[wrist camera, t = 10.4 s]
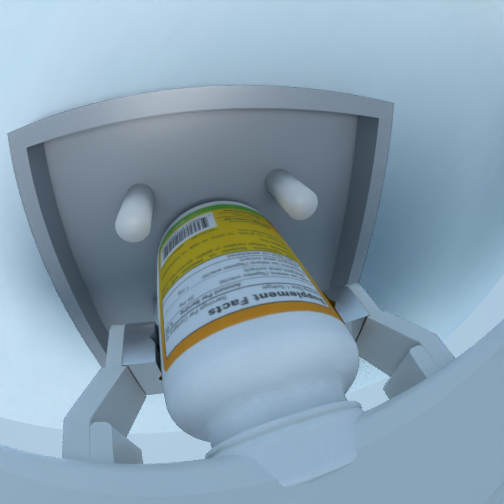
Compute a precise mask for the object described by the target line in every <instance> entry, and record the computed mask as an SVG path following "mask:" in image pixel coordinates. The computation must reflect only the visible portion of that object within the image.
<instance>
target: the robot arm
mask: <svg viewBox="0 0 504 504" xmlns="http://www.w3.org/2000/svg"><path fill="white" fill-rule="evenodd" d="M321 292H322V293H323V294H324V296H325V297H326V299H327V300H328V301H329V303H330V304H331V306H332V307H333V308H334V310H335V311H336V313H337V314H338V316H339V317H340V318H341V320H342V321H343V323H344V324H345V326H346V327H347V329H348V331H349V332H350V334H351V335H352V337H353V338H354V340H355V342H356V344H357V347H358V351H359V356H360V357H361V358H363V359H364V360H366V361H367V362H369V363H370V364H372V365H373V366H375V367H376V368H378V369H379V370H381V371H383V372H384V373H386V374H387V375H389V376H390V379H389V380H388V381H387V383H386V384H385V385H384V388H383V390H384V391H385V393H386V395H387V396H388V398H389V400H388V401H386V402H384V403H382V404H380V405H378V406H376V407H374V408H372V409H370V410H368V411H366V412H363V413H361V414H360V415H359V416H358V417H357V419H356V422H355V438H356V452H357V457H356V459H355V460H354V461H353V462H352V463H350V464H349V465H347V466H345V467H343V468H341V469H338V470H336V471H334V472H332V473H329V474H327V475H324V476H322V477H319V478H317V479H314V480H312V481H309V482H306V483H303V484H299V485H296V486H292V487H283V486H282V485H281V484H279V481H278V479H276V478H275V477H274V476H272V475H271V474H270V473H269V472H267V471H266V470H265V469H264V468H263V467H262V466H261V465H260V464H259V463H258V462H257V461H256V460H254V459H252V458H250V457H248V456H244V455H227V456H221V457H215V458H209V459H201V460H193V461H184V462H172V463H156V464H143V460H142V452H141V449H140V448H138V447H137V446H136V445H134V444H133V443H132V442H131V441H129V440H128V439H127V438H126V437H127V435H128V433H129V431H130V429H131V427H132V425H133V423H134V421H135V419H136V417H137V415H138V413H139V411H140V409H141V407H142V405H143V403H144V401H145V399H146V395H151V394H160V393H164V389H163V382H162V372H161V360H160V347H159V331H158V324H157V322H156V321H150V322H140V323H129V324H121V325H112V326H111V328H110V331H109V339H108V348H107V358H106V367H102V368H101V369H100V370H99V372H98V373H97V374H96V376H95V377H94V378H93V380H92V381H91V382H90V384H89V385H88V386H87V388H86V389H85V390H84V392H83V393H82V394H81V396H80V397H79V398H78V400H77V401H76V403H75V404H74V405H73V407H72V408H71V410H70V411H69V412H68V414H67V415H66V417H65V418H64V425H63V452H62V457H63V458H56V457H51V456H45V455H40V454H35V453H31V452H27V451H23V450H19V449H16V448H12V447H9V446H5V445H2V444H0V504H504V319H503V320H502V321H501V322H500V323H499V324H498V325H497V326H495V327H494V328H493V329H492V330H491V331H490V332H489V333H487V334H486V335H485V336H484V337H483V338H482V339H480V340H479V341H478V342H477V343H476V344H474V345H473V346H472V347H470V348H469V349H468V350H467V351H465V352H464V353H463V354H461V355H460V356H459V357H457V358H456V359H455V357H454V356H453V355H452V354H451V352H450V351H449V350H448V348H447V347H446V346H445V344H444V343H443V342H442V341H441V339H440V338H439V337H438V336H437V334H435V333H432V332H430V331H428V330H426V329H424V328H422V327H420V326H417V325H415V324H413V323H411V322H409V321H407V320H405V319H402V318H400V317H398V316H396V315H394V314H392V313H390V312H387V311H381V309H380V308H379V307H378V306H377V304H376V303H375V302H374V301H373V300H372V298H371V297H370V296H369V295H368V293H367V292H366V291H365V290H364V289H363V287H362V286H361V285H360V284H358V283H353V284H349V285H345V286H340V287H336V288H332V289H328V290H324V291H321Z"/></svg>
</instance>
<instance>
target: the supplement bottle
mask: <svg viewBox="0 0 504 504" xmlns="http://www.w3.org/2000/svg"><path fill="white" fill-rule="evenodd" d="M157 309H158V331H159V347H160V360H161V372H162V382H163V389H164V396H165V402H166V406H167V410H168V412H169V414H170V416H171V418H172V419H173V421H174V422H175V423H176V425H177V426H178V427H179V428H181V429H182V430H183V431H184V432H186V433H187V434H189V435H191V436H193V437H195V438H197V439H200V440H203V441H207V442H210V443H211V446H212V449H211V450H210V451H209V452H208V453H207V454H206V456H205V459H209V458H215V457H221V456H227V455H244V456H248V457H250V458H252V459H254V460H256V461H257V462H258V463H259V464H260V465H261V466H262V467H263V468H264V469H265V470H266V471H267V472H269V473H270V474H271V475H272V476H274V477H275V478H276V479H278V481H279V484H281V485H282V486H283V487H292V486H296V485H299V484H303V483H306V482H309V481H312V480H314V479H317V478H319V477H322V476H324V475H327V474H329V473H332V472H334V471H336V470H338V469H341V468H343V467H345V466H347V465H349V464H350V463H352V462H353V461H354V460H355V459H356V457H357V452H356V438H355V422H356V419H357V417H358V416H359V415H360V414H361V413H363V412H364V411H363V410H362V407H361V405H360V403H358V402H356V401H347V399H346V397H345V394H346V392H347V391H348V390H349V388H350V387H351V385H352V384H353V382H354V380H355V377H356V375H357V372H358V368H359V351H358V347H357V344H356V342H355V340H354V338H353V337H352V335H351V334H350V332H349V331H348V329H347V327H346V326H345V324H344V323H343V321H342V320H341V318H340V317H339V316H338V314H337V313H336V311H335V310H334V308H333V307H332V306H331V304H330V303H329V301H328V300H327V299H326V297H325V296H324V294H323V293H322V292H321V290H320V289H319V287H318V286H317V285H316V283H315V282H314V280H313V279H312V277H311V276H310V275H309V273H308V272H307V270H306V269H305V268H304V266H303V265H302V263H301V262H300V261H299V259H298V258H297V257H296V255H295V254H294V253H293V251H292V250H291V249H290V247H289V246H288V245H287V243H286V242H285V240H284V239H283V238H282V236H281V235H280V234H279V232H278V231H277V230H276V228H275V227H274V226H273V225H272V224H271V222H270V221H269V220H268V219H267V218H266V217H265V216H264V215H263V214H262V213H260V212H259V211H257V210H256V209H254V208H252V207H250V206H248V205H245V204H242V203H239V202H234V201H214V202H209V203H205V204H202V205H199V206H196V207H194V208H192V209H190V210H188V211H186V212H185V213H183V214H182V215H180V216H179V217H178V218H177V219H176V220H175V221H174V222H173V223H172V224H171V225H170V226H169V228H168V229H167V230H166V232H165V234H164V236H163V238H162V240H161V242H160V245H159V249H158V255H157Z"/></svg>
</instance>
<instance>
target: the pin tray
mask: <svg viewBox="0 0 504 504" xmlns="http://www.w3.org/2000/svg"><path fill="white" fill-rule="evenodd" d="M393 109H394V103H390V102H386V101H382V100H377V99H373V98H368V97H363V96H357V95H352V94H346V93H340V92H333V91H325V90H317V89H308V88H297V87H284V86H262V85H226V86H204V87H190V88H179V89H170V90H162V91H155V92H148V93H142V94H136V95H130V96H125V97H120V98H115V99H111V100H106V101H102V102H98V103H94V104H90V105H86V106H82V107H79V108H75V109H72V110H69V111H65V112H62V113H59V114H56V115H53V116H50V117H47V118H44V119H42V120H39V121H36V122H34V123H31V124H29V125H26V126H24V127H21V128H19V129H16V130H14V131H12V132H10V133H7V134H8V141H9V147H10V153H11V158H12V163H13V168H14V173H15V177H16V181H17V185H18V189H19V193H20V197H21V200H22V204H23V207H24V211H25V214H26V217H27V220H28V223H29V226H30V229H31V232H32V234H33V237H34V240H35V243H36V245H37V248H38V250H39V253H40V255H41V258H42V260H43V262H44V265H45V267H46V269H47V272H48V274H49V276H50V278H51V280H52V282H53V285H54V287H55V289H56V291H57V293H58V295H59V297H60V299H61V301H62V303H63V304H64V306H65V308H66V310H67V312H68V314H69V316H70V317H71V319H72V321H73V323H74V324H75V326H76V328H77V329H78V331H79V333H80V334H81V336H82V338H83V339H84V341H85V343H86V344H87V346H88V347H89V349H90V350H91V352H92V353H93V355H94V356H95V358H96V359H97V361H98V362H99V364H100V365H101V367H106V358H107V348H108V339H109V331H110V328H111V326H112V325H121V324H129V323H140V322H150V321H156V322H157V324H158V309H157V255H158V249H159V245H160V242H161V240H162V238H163V236H164V234H165V232H166V230H167V229H168V228H169V226H170V225H171V224H172V223H173V222H174V221H175V220H176V219H177V218H178V217H179V216H180V215H182V214H183V213H185V212H186V211H188V210H190V209H192V208H194V207H196V206H199V205H202V204H205V203H209V202H214V201H234V202H239V203H242V204H245V205H248V206H250V207H252V208H254V209H256V210H257V211H259V212H260V213H262V214H263V215H264V216H265V217H266V218H267V219H268V220H269V221H270V222H271V224H272V225H273V226H274V227H275V228H276V230H277V231H278V232H279V234H280V235H281V236H282V238H283V239H284V240H285V242H286V243H287V245H288V246H289V247H290V249H291V250H292V251H293V253H294V254H295V255H296V257H297V258H298V259H299V261H300V262H301V263H302V265H303V266H304V268H305V269H306V270H307V272H308V273H309V275H310V276H311V277H312V279H313V280H314V282H315V283H316V285H317V286H318V287H319V289H320V290H321V291H324V290H328V289H332V288H336V287H340V286H345V285H349V284H353V283H359V280H360V276H361V273H362V270H363V266H364V263H365V259H366V255H367V252H368V248H369V244H370V240H371V236H372V232H373V228H374V224H375V220H376V215H377V211H378V206H379V202H380V197H381V192H382V187H383V181H384V176H385V170H386V164H387V158H388V151H389V144H390V136H391V128H392V119H393Z"/></svg>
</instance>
